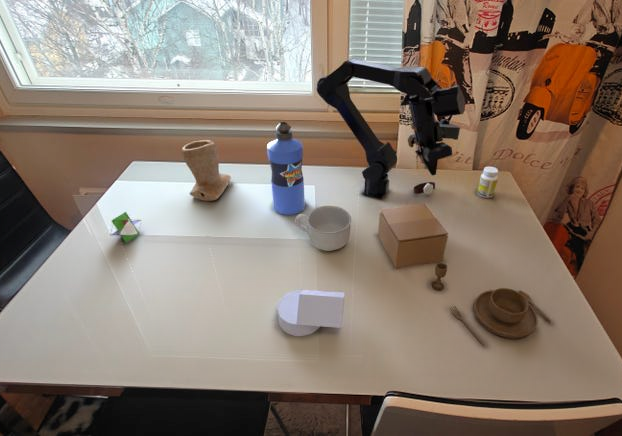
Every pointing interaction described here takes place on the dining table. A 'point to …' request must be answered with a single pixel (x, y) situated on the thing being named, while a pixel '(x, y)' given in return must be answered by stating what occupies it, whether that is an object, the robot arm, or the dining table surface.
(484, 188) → the supplement bottle
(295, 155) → the water bottle
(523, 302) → the place setting
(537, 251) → the dining table surface
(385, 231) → the carton
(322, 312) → the wedge on round base
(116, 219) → the geometric puzzle
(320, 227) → the teacup
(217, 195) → the stone cup
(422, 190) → the watch
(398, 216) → the flap
